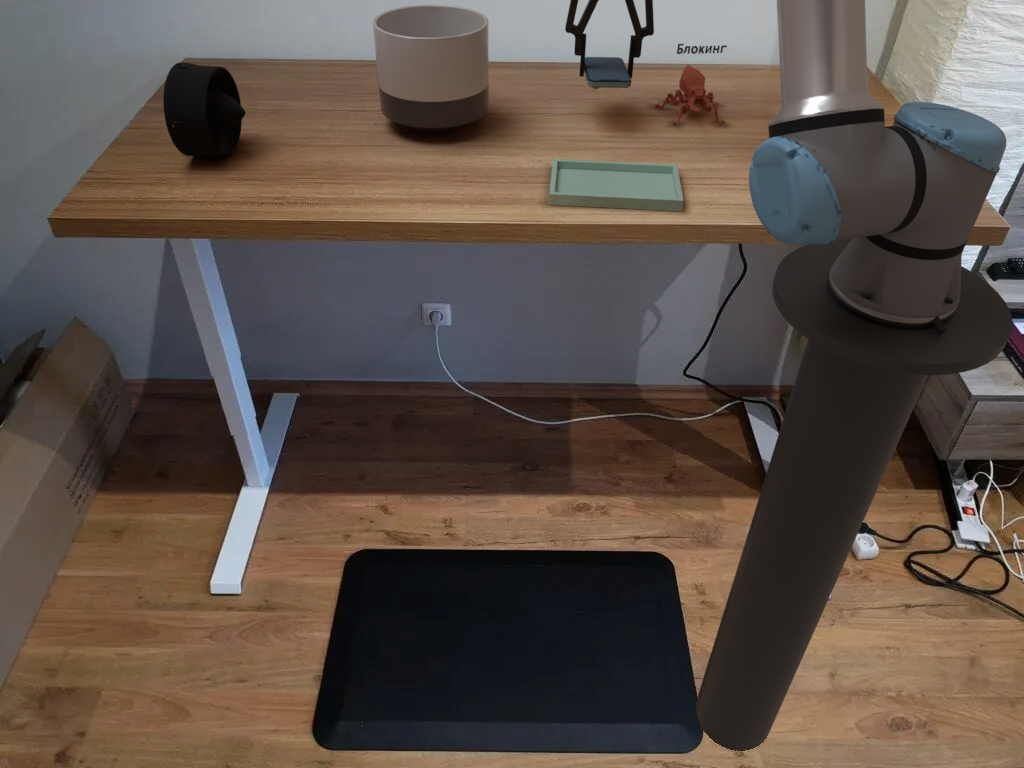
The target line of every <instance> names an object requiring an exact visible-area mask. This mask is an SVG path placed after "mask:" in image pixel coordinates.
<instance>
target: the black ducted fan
mask: <svg viewBox="0 0 1024 768" xmlns="http://www.w3.org/2000/svg"><path fill="white" fill-rule="evenodd" d="M162 98H163V99H162V100H163V102H162V103H163V114H164V115H163V116H164V121H165V125H166V130H167V132H168V135H169V137H170V140H171V141H172V144H173V145H174V147H175V149H176V150H178V152H179V153H181V154H182V155H184V156H187V157H198V158H199V159H206V160H222V159H227V158H229V157H231V156H232V155H233V154H234V152H235V150H236V149H237V147H238V144H239V142H240V138H241V134H242V133H241V132H242V125H243V122H242V121H243V119H244V117H245V115H246V114H247V113H246V111H245V109H244V107H243V106H242V103H241V102H242V101H241V97H240V93H239V89H238V87H237V83H236V81H235V79H234V77H233V75H232V74H231V73H230V71H229V70H228V69H227V68H225V67H224V66H219V65H202V64H201V65H200V64H195V63H191V62H183V61H180V62H177V63H175V64H174V65H172V67H171V68H170V69H169V70H168V73H167V76H166V78H165V82H164V86H163V97H162Z"/></svg>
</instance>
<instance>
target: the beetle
mask: <svg viewBox="0 0 1024 768" xmlns="http://www.w3.org/2000/svg"><path fill="white" fill-rule="evenodd" d="M684 45H685V44H684V43H678V44H677V49H676V54H677V55H680V54H683V55H685V54H686V53H687V55H689V54H690V53H691V54H693V55H695V54H697V53H698V54H702V55H703V54H715V53H716V54H719V53H720V54H723V51H724V48H727V47H728V45H717V47H716V45H709V46H708V45H706V46H705V45H703V46H702V45H699V47H698V46H697V45H693V46H690V45H686V46H684ZM682 46H684V48H683V47H682ZM720 46H721V47H720ZM704 48H705V51H704ZM694 49H695V50H694ZM705 83H706V76H704V74H703V72H701V71H700V70H699V69H697V68H695V67H693V66H692V65H689V64H687V65H685V66H684V68H683V70H682V73H681V76H680V79H679V85H678V87H679V88H678V89H676V90H675V93H674V94H673V93H671V92H669V93H667V95H666V98H665V100H664V102H663V103H662V105H661V104H660V103H659V102H657V103H656V104H655V106H654V108H655V109H656V108H657V109H664V108H665V105H666V104H667V103H669V104H670V105H673V106H677V105H680V106H679V112H678V117H677V121H673V123H672V126H675V127H679V125H680V123H681V120H682V119H681V118H682V116H683V114H684V115H685V114H686V115H687V113H688V112H689V110H691V111H692V112H695V113H700V112H701V109H702V110H703V111H704V113H705V114H709V113H711V112H712V111H713V113H714V118H715V124H719V125H721V126H723V125H725V124H726V123H725V120H724V119H723V120H719V114H718V113H719V112H718V107H719V103H718V102H716V101H714V99H715V96H714V93H713V92H711V91H709V92H708V93H707V90H706V89H705V85H706V84H705ZM677 98H678V99H677ZM695 104H697V105H699V108H701V109H699V108H698V107H696V106H695Z"/></svg>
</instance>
